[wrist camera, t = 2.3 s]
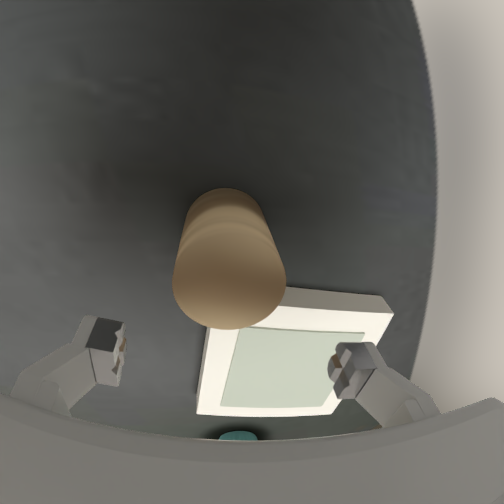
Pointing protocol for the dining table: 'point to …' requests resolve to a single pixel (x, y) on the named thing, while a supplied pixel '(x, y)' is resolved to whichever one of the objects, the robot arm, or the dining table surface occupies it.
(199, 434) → the dining table surface
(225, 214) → the bread loaf
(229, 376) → the base slab
